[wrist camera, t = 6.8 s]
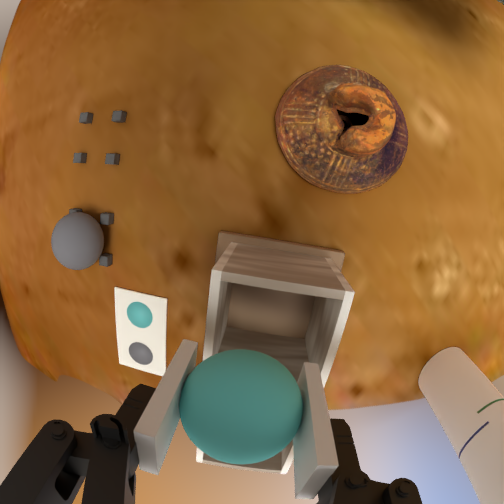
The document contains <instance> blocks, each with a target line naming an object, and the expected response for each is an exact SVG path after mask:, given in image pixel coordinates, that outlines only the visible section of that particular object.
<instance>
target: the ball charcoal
mask: <svg viewBox="0 0 504 504" xmlns="http://www.w3.org/2000/svg"><path fill="white" fill-rule="evenodd" d="M51 244H52V250H53V253H54V255H55V257H56V258H57V260H58V261H59V262H60V263H61V264H62V265H64V266H65V267H67V268H70V269H73V270H81V269H85V268H88V267H90V266H91V265H93V264H94V263H95V262H96V261H97V260H98V258H99V257H100V255H101V253H102V250H103V246H104V235H103V231H102V229H101V226H100V225H99V223H98V222H97V221H96V220H95V219H94V218H93V217H92V216H90V215H88V214H86V213H82V212H75V213H70V214H68V215H66V216H64V217H63V218H62V219H60V220H59V222H58V223H57V224H56V226H55V228H54V230H53V233H52V239H51Z"/></svg>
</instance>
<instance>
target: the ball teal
mask: <svg viewBox="0 0 504 504" xmlns="http://www.w3.org/2000/svg"><path fill="white" fill-rule="evenodd" d="M179 412H180V418H181V422H182V425H183V427H184V430H185V432H186V433H187V435H188V437H189V438H190V440H191V441H192V442H193V443H194V444H195V445H196V446H197V447H198V448H199V449H200V450H201V451H203V452H204V453H205V454H207V455H209V456H210V457H212V458H214V459H216V460H219V461H222V462H226V463H231V464H253V463H258V462H261V461H264V460H267V459H269V458H271V457H273V456H275V455H276V454H278V453H279V452H281V451H282V450H283V449H284V448H285V447H286V446H287V445H288V444H289V443H290V442H291V441H292V439H293V438H294V436H295V435H296V433H297V431H298V429H299V426H300V423H301V420H302V414H303V401H302V395H301V392H300V388H299V386H298V384H297V382H296V380H295V378H294V377H293V375H292V374H291V373H290V372H289V370H288V369H287V368H286V367H285V366H284V365H282V364H281V363H280V362H279V361H277V360H276V359H274V358H272V357H271V356H268V355H266V354H264V353H261V352H257V351H253V350H246V349H235V350H228V351H223V352H220V353H217V354H215V355H213V356H210V357H209V358H207V359H205V360H204V361H202V362H201V363H200V364H199V365H198V366H196V367H195V369H194V370H193V371H192V372H191V373H190V374H189V376H188V378H187V379H186V381H185V383H184V385H183V388H182V392H181V396H180V402H179Z"/></svg>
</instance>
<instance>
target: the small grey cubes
mask: <svg viewBox="0 0 504 504" xmlns="http://www.w3.org/2000/svg"><path fill="white" fill-rule="evenodd" d="M126 114H127V112H124V111H113V115H112V121H114V122H125V119H126ZM92 118H93V114H92V113H88V112H86V113H81V114H80V119H79V122H80V123H84V124H86V123H92ZM86 157H87V153H74V159H73V163H86ZM119 158H120V154H107V153H106V160H105V164H117V165H119ZM75 212H82V209H77V208H74V209H70V210H69V214H70V213H75ZM113 222H114V213H107V212H105V213H101V216H100V224H105V225H110V224H113ZM111 264H112V254H107V253H103V254H101V255H100V257H99V265H102V266H106V267H108V266H110V265H111Z"/></svg>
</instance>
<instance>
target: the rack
mask: <svg viewBox="0 0 504 504" xmlns="http://www.w3.org/2000/svg"><path fill="white" fill-rule="evenodd" d="M344 256H345V253H344V252H343V251H341V250H335V249H330V248H324V247H318V246H312V245H306V244H300V243H295V242H289V241H283V240H277V239H271V238H264V237H258V236H252V235H246V234H240V233H234V232H227V231H220V232H219V235H218V242H217V250H216V259H215V266H214V267H213V268H212V272H211V281H210V290H209V299H208V309H207V319H206V330H205V340H204V352H203V361H204V360H205V359H207V358H209V357H210V356H213V355H215V354H217V353H220V352H223V351H228V350H235V349H246V350H253V351H257V352H261V353H264V354H266V355H268V356H271V357H272V358H274V359H276V360H277V361H279V362H280V363H281V364H282V365H284V366H285V367H286V368H287V369H288V370H289V372H290V373H291V374H292V375H293V377H294V378H295V380H296V382H297V381H298V378H299V376H300V373H301V370H302V367H303V364H304V362H308V363H316V364H318V365H319V369H320V374H321V379H322V383H323V388H324V386H325V383H326V381H327V378H328V375H329V373H330V370H331V367H332V364H333V361H334V358H335V355H336V352H337V349H338V346H339V343H340V340H341V337H342V334H343V331H344V328H345V324H346V321H347V318H348V314H349V311H350V308H351V304H352V301H353V297H354V293H355V292H354V290H353V289H352V288H351V286H350V285H349V283H348V282H347V280H346V279H345V277H344V276H343V275H342V273H341V269H342V265H343V261H344ZM293 459H294V452H293V439H292V441H291V442H290V443H289V444H288V445H287V446H286V447H285V448H284V449H283V450H282V451H281V452H279V453H278V454H276V455H275V456H273V457H271V458H269V459H267V460H264V461H261V462H258V463H253V464H231V463H226V462H222V461H219V460H216V459H214V458H212V457H210V456H209V455H207V454H205V453H204V452H203V451H201V450H200V449H199V448H198V447H197V456H196V461H197V462H202V463H207V464H212V465H217V466H222V467H228V468H235V469H241V470H248V471H257V472H266V473H278V474H287V472H288V469H289V467H290V465H291V463H292V461H293Z"/></svg>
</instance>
